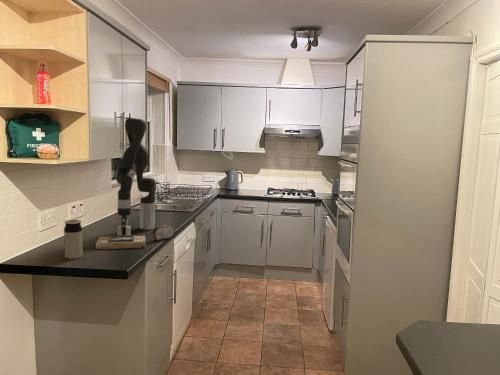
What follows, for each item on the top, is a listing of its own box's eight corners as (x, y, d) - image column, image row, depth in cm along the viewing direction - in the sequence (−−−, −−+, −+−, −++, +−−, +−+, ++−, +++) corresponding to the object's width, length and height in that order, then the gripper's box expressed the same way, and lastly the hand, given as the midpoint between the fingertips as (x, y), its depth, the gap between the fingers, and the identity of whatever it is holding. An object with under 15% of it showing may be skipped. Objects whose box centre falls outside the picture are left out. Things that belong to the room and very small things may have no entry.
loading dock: (99, 241, 222) (99, 234, 221) (145, 240, 228) (145, 233, 227) (95, 249, 207) (95, 241, 207) (144, 247, 213) (144, 240, 213)
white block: (118, 236, 234) (118, 225, 233) (130, 236, 235) (130, 225, 234) (117, 238, 229) (117, 227, 228) (129, 238, 230) (129, 227, 230)
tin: (172, 236, 239) (172, 222, 238) (175, 237, 237) (175, 223, 236) (151, 240, 228) (151, 226, 227) (155, 241, 226) (155, 227, 225)
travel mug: (85, 254, 197) (84, 219, 195) (78, 259, 190) (77, 223, 187) (69, 254, 197) (68, 219, 195) (62, 259, 189) (61, 222, 187)
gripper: (118, 204, 235) (118, 231, 237) (116, 208, 222) (116, 236, 224) (131, 204, 237) (131, 230, 239) (130, 208, 224) (130, 236, 225)
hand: (124, 233), depth 231 cm, fingers open, 8 cm apart
